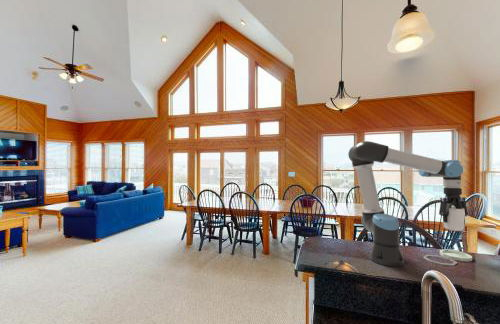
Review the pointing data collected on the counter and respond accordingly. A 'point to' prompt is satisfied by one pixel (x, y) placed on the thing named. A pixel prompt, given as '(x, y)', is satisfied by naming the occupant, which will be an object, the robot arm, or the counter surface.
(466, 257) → the pale green flat disc
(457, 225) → the cup
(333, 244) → the counter surface
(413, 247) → the counter surface
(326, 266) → the counter surface
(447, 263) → the seat ring
